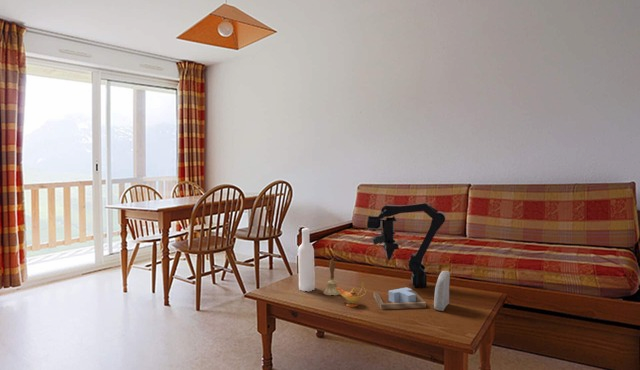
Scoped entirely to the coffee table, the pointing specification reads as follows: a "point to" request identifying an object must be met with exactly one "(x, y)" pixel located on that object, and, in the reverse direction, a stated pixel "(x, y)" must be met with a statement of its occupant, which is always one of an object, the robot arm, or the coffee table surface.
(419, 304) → the bay
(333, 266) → the hand bell
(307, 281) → the bottle
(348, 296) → the magic lamp
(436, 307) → the decorative stone
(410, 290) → the grey stepped block
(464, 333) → the coffee table surface
